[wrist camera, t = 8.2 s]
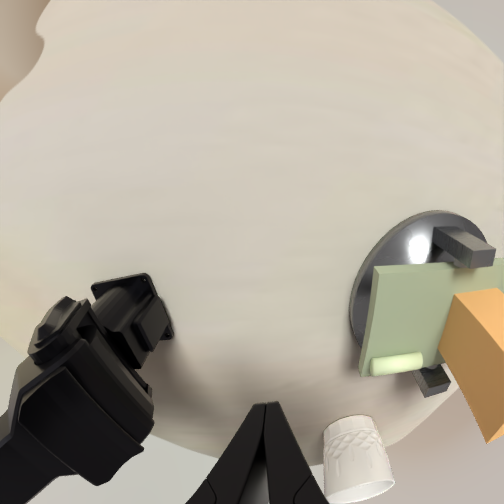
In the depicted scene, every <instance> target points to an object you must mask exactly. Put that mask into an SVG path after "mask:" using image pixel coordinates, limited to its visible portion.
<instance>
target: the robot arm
mask: <svg viewBox="0 0 504 504" xmlns="http://www.w3.org/2000/svg"><path fill="white" fill-rule="evenodd" d="M142 278H144V279H145V280H146V281H144V280H143V279H142ZM95 287H96V288H97V289H96V288H95ZM91 290H92V292H93V295H94V297H95V299H96V302H95V303H94V304H93V305H92V306H91V304H90V302H89V300H88V299H87V298H86V299H84V300H81V301H78V302H76V301H75V300H72V299H71V298H69V297H67V296H65V297H63V298H62V299H60V300H59V301H58V302H57V303H56V304H55V305H54V306H53V307H51V308H50V309H49V311H48V312H47V313H46V315H45V316H44V318H43V320H42V321H41V323H40V324H39V325H37V326H36V328H35V330H34V333H33V336H32V339H31V342H30V345H29V348H28V354H29V356H28V357H27V358H26V359H25V360H24V361H23V362H22V363H21V364H20V365H19V366H18V367H17V369H16V372H15V377H14V381H13V385H12V390H11V395H10V400H9V406H8V410H7V411H6V412H5V413H4V414H3V415H2V416H1V417H0V504H27V503H28V502H29V501H30V500H31V499H33V498H34V497H35V496H36V495H37V494H38V493H40V492H41V491H42V490H43V489H44V488H45V487H46V486H47V485H49V484H50V483H51V482H52V481H53V480H55V479H56V478H58V477H59V476H68V475H78V474H79V475H80V476H81V477H83V478H84V479H86V480H87V481H89V482H90V483H92V484H93V485H95V486H99V485H101V484H104V483H106V482H108V481H110V480H111V478H112V477H113V476H114V475H115V473H116V472H117V471H118V470H119V468H120V467H121V466H122V465H123V464H124V463H125V462H127V461H128V460H129V459H130V458H132V457H133V456H135V455H137V454H139V453H141V452H143V450H144V447H142V446H141V445H140V444H141V443H142V442H143V441H144V439H145V438H146V437H147V436H148V435H149V433H150V432H151V430H152V428H153V426H154V420H153V419H152V418H153V411H154V405H153V401H152V388H151V387H150V386H149V385H148V384H146V383H145V382H144V381H143V379H142V378H141V377H140V376H139V374H138V373H137V372H136V371H135V369H141V367H142V365H143V364H144V362H145V360H146V358H147V356H148V354H149V352H153V351H154V349H155V347H156V345H157V343H158V341H159V340H169V339H171V338H172V337H173V331H172V328H171V326H170V324H169V319H168V317H167V315H166V312H165V310H164V308H163V305H162V303H161V301H160V298H159V297H158V296H157V294H156V291H155V289H154V286H153V284H152V281H151V279H150V277H149V275H148V274H146V273H140V274H136V275H131V276H126V277H121V278H116V279H111V280H106V281H102V282H97V283H94V284H93V285H92V286H91ZM166 333H168V334H169V335H168V334H166ZM206 478H207V479H205V480H204V481H203V483H202V484H201V485H200V487H199V488H198V489H197V491H196V492H195V493H194V494H193V496H192V497H191V498H190V499H189V500H188V501H187V502H186V503H185V504H268V503H269V504H330V503H329V502H328V500H327V499H326V497H325V496H324V495H323V493H322V491H321V489H320V487H319V486H318V484H317V482H316V480H315V478H314V476H313V475H312V472H311V470H310V468H309V466H308V464H307V462H306V460H305V457H304V455H303V453H302V451H301V449H300V447H299V445H298V443H297V441H296V438H295V436H294V434H293V432H292V430H291V428H290V426H289V423H288V421H287V419H286V417H285V415H284V412H283V410H282V408H281V406H280V404H279V402H278V401H274V402H268V403H267V404H266V403H256V404H254V405H253V407H252V408H251V410H250V412H249V413H248V415H247V416H246V418H245V420H244V421H243V423H242V425H241V426H240V428H239V429H238V431H237V433H236V434H235V436H234V437H233V439H232V440H231V442H230V443H229V445H228V446H227V448H226V449H225V451H224V452H223V454H222V455H221V457H220V458H219V460H218V462H217V463H216V464H215V466H214V467H213V469H212V470H211V472H210V473H209V474H208V476H207V477H206Z"/></svg>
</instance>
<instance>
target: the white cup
mask: <svg viewBox="0 0 504 504" xmlns="http://www.w3.org/2000/svg"><path fill="white" fill-rule="evenodd" d="M323 439H324V450H323V456H324V459H323V463H324V496H325V497H326V499H327V500H328V502H329V503H330V504H346V503H353V502H358V501H362V500H365V499H368V498H372V497H374V496H377V495H379V494H381V493H383V492H385V491H387V490H389V489H390V488H391V487H393V486H394V484H395V480H394V476H393V473H392V470H391V467H390V463H389V460H388V457H387V454H386V451H385V449H384V446H383V443H382V440H381V437H380V435H379V434H378V431H377V428H376V425H375V422H374V420H373V419H372V418H371V417H369V416H365V415H355V416H349V417H345V418H342V419H339V420H337V421H335V422H334V423H332V424H330V425H329V426H328V427H327V428H326V429H325V430H324V433H323Z"/></svg>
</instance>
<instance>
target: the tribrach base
mask: <svg viewBox="0 0 504 504" xmlns="http://www.w3.org/2000/svg"><path fill="white" fill-rule="evenodd" d="M495 252H496V249H495V248H494V247H492V246H490V245H489V244H487V241H486V239H485V237H484V235H483V234H482V232H481V231H480V230H479V228H478V227H477V226H476V225H475V224H473V223H472V222H471V221H470V220H468V219H466V218H464V217H462V216H460V215H458V214H455V213H452V212H449V211H442V210H434V211H427V212H423V213H419V214H417V215H414V216H412V217H409V218H408V219H406V220H404V221H402V222H401V223H399V224H398V225H396V226H395V227H394V228H392V229H391V230H390V231H389V232H388V233H387V234H386V235H384V236H383V237H382V238H381V239H380V241H379V242H378V243H377V244H376V245H375V246H374V248H373V249H372V250H371V252H370V253H369V255H368V256H367V257H366V259H365V261H364V262H363V264H362V266H361V268H360V270H359V272H358V274H357V277H356V279H355V282H354V285H353V289H352V292H351V298H350V321H351V325H352V329H353V332H354V334H355V337H356V339H357V341H358V343H359V345H360V347H361V348H362V345H363V340H364V335H365V329H366V323H367V317H368V310H369V303H370V296H371V288H372V279H373V270H374V266H389V265H407V264H424V263H440V262H454V258H456V259H457V260H458V261H460V262H461V263H462V264H464V265H465V266H466V267H468V268H469V269H474V268H482V267H490V266H493V262H494V257H495ZM412 373H413V375H414V377H415V379H416V381H417V383H418V385H419V387H420V389H421V391H422V393H423V396H424V398H425V397H429V396H432V395H436V394H439V393H442V392H445V391H447V389H448V387H449V385H450V383H451V381H450V379H449V378H448V376H447V374H446V373H445V371H444V369H443V368H442V366H441V364H438V365H437V367H436V368H435V369H429V368H427V367H423V368H421V369H417V370H412Z"/></svg>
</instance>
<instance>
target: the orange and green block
mask: <svg viewBox="0 0 504 504" xmlns="http://www.w3.org/2000/svg"><path fill="white" fill-rule="evenodd" d="M442 363H446V364H447V365H448V367H449V369H450V371H451V372H452V374H453V376H454V378H455V380H456V381H457V383H458V385H459V387H460V389H461V390H462V393H463V395H464V397H465V398H466V400H467V402H468V404H469V406H470V409H471V411H472V412H473V415H474V417H475V419H476V421H477V423H478V425H479V428H480V430H481V432H482V434H483V437H484V439H485V441H486V444H487V443H489V442H491V441H493V440H495V439H497V438H499V437H500V436H502V435H504V258H495V259H494V262H493V266H490V267H482V268H474V269H469V268H468V267H466V266H465V265H464V264H462V263H461V262H460V261H458V260H457V259H456V258H454V262H440V263H424V264H407V265H389V266H374V270H373V279H372V288H371V296H370V303H369V310H368V317H367V323H366V329H365V335H364V340H363V345H362V351H361V355H360V360H359V365H358V369H359V372H360V376H361V377H366V376H380V375H387V374H394V373H400V372H406V371H412V370H417V369H421V368H423V367H427V368H429V369H435V368H436V367H437V365H438V364H442Z"/></svg>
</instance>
